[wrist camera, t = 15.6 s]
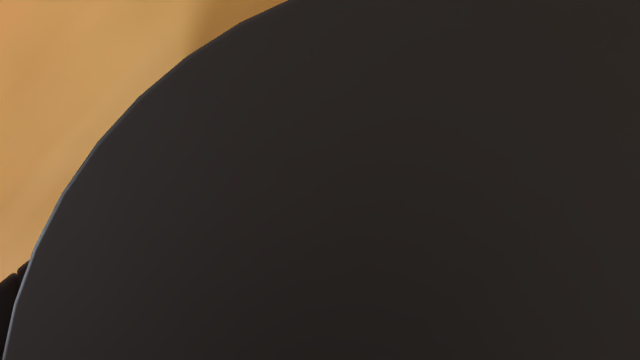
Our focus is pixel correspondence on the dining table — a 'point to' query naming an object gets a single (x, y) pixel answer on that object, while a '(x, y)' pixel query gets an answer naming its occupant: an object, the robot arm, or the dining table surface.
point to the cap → (361, 194)
